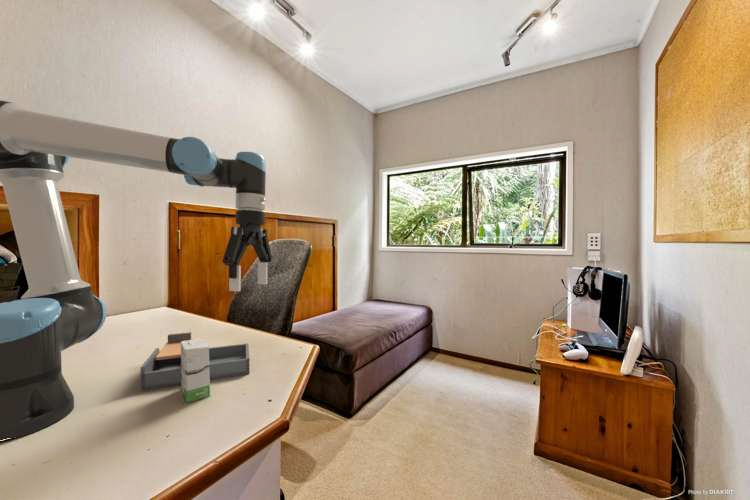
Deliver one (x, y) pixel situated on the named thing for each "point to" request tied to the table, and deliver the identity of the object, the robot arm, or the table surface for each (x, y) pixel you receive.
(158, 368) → the tray
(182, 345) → the ink box
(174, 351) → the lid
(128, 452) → the table surface
